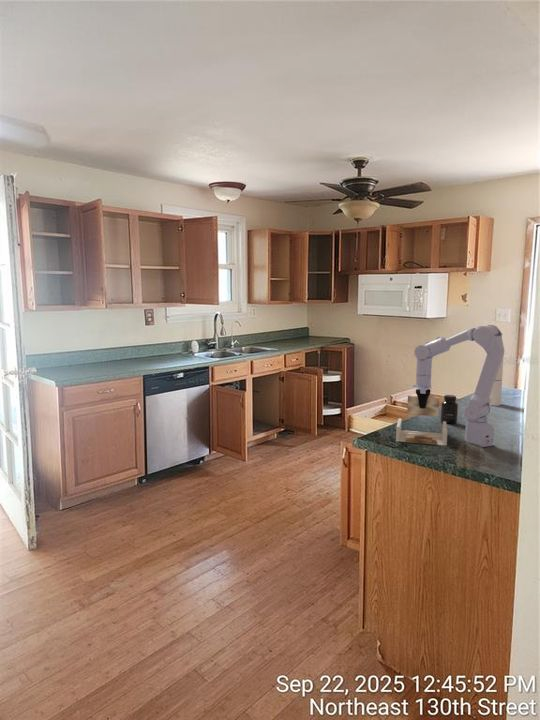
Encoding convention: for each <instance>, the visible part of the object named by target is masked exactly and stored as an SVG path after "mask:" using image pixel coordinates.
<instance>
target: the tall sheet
mask: <svg viewBox="0 0 540 720" xmlns="http://www.w3.org/2000/svg"><path fill="white" fill-rule="evenodd" d="M439 408H440V396H429V397H428V399H427V403H426V407H425V409H423V408H420V407H419V400H418V396H417V395H407V409H406V414H407V415H411V416H425V417H426V416H427V417H428V416H429V417H439V410H440V409H439Z"/></svg>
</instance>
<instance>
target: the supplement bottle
mask: <svg viewBox="0 0 540 720" xmlns="http://www.w3.org/2000/svg"><path fill="white" fill-rule="evenodd" d="M456 401H457V396H456V395H453V394H452V395H451V394H444V398H443V401H442V402H441V403H440V404H441V405H440V406H441V407H440V420H439V421H440V423H441V424H442V423H443V421H445V422H446V424H447V425H449V426H451V425H452V426H456V425H457V423H458V415H459V404H458V402H456ZM455 424H456V425H455Z"/></svg>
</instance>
